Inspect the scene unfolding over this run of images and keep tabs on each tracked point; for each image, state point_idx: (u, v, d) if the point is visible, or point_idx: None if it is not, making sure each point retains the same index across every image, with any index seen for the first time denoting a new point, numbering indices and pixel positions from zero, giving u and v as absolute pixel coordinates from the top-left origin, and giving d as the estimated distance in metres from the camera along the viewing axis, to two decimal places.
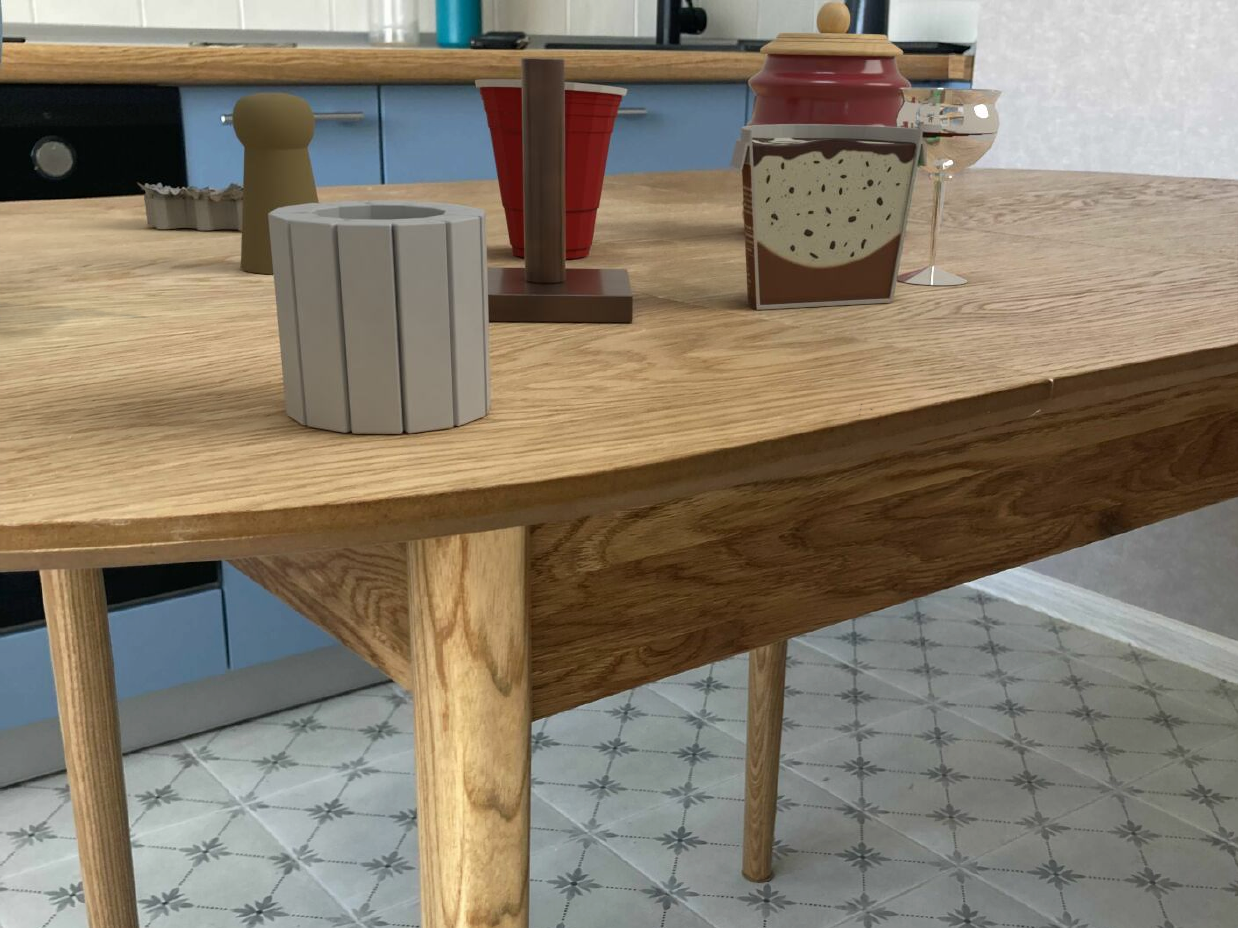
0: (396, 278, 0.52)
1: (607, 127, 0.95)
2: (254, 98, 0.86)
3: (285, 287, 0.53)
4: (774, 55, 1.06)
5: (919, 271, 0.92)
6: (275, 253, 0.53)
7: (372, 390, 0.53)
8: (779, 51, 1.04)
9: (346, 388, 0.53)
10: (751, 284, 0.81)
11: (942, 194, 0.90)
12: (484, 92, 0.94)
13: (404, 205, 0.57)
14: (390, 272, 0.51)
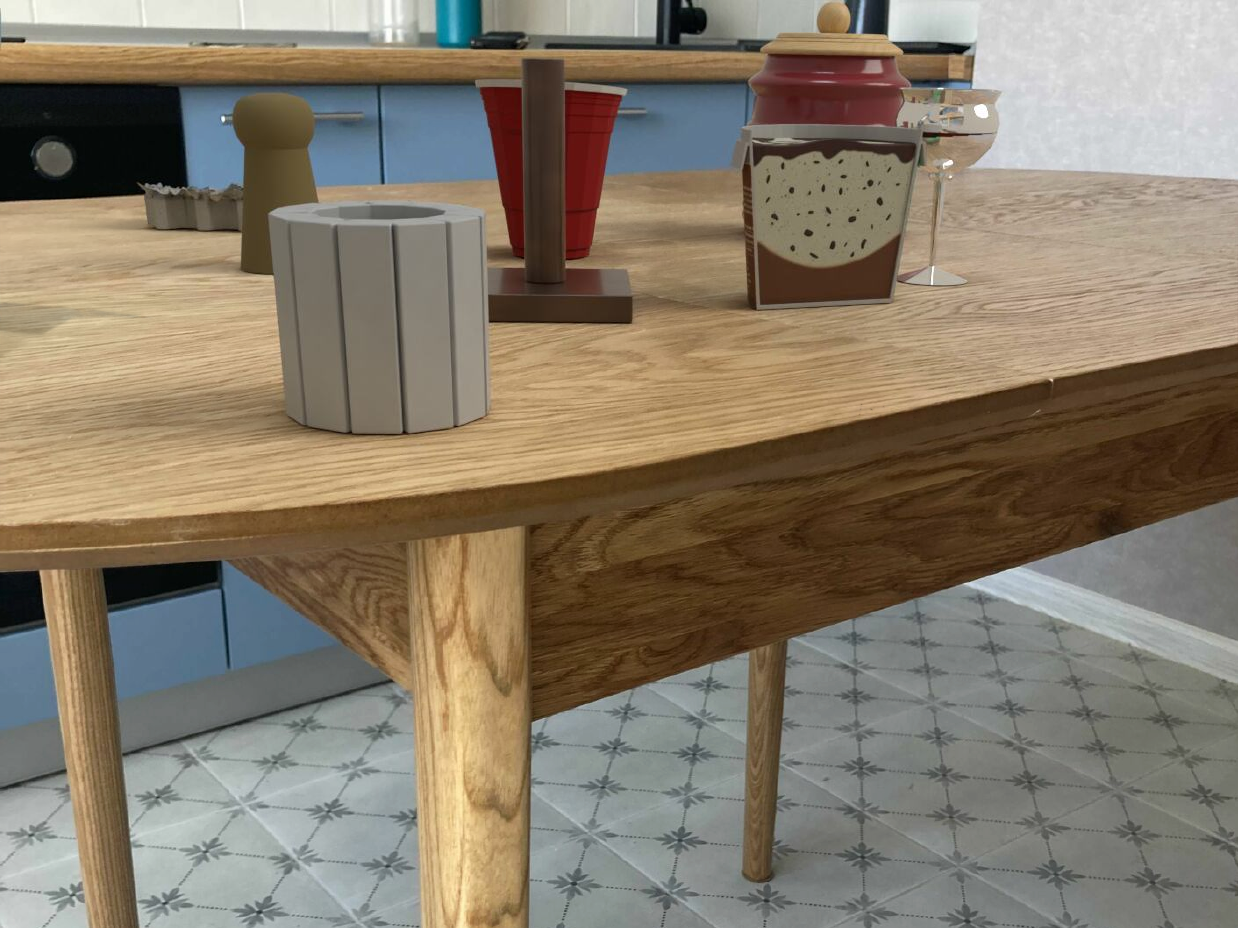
0: (396, 278, 0.52)
1: (607, 127, 0.95)
2: (254, 98, 0.86)
3: (285, 287, 0.53)
4: (774, 55, 1.06)
5: (919, 271, 0.92)
6: (275, 253, 0.53)
7: (372, 390, 0.53)
8: (779, 51, 1.04)
9: (346, 388, 0.53)
10: (751, 284, 0.81)
11: (942, 194, 0.90)
12: (484, 92, 0.94)
13: (404, 205, 0.57)
14: (390, 272, 0.51)
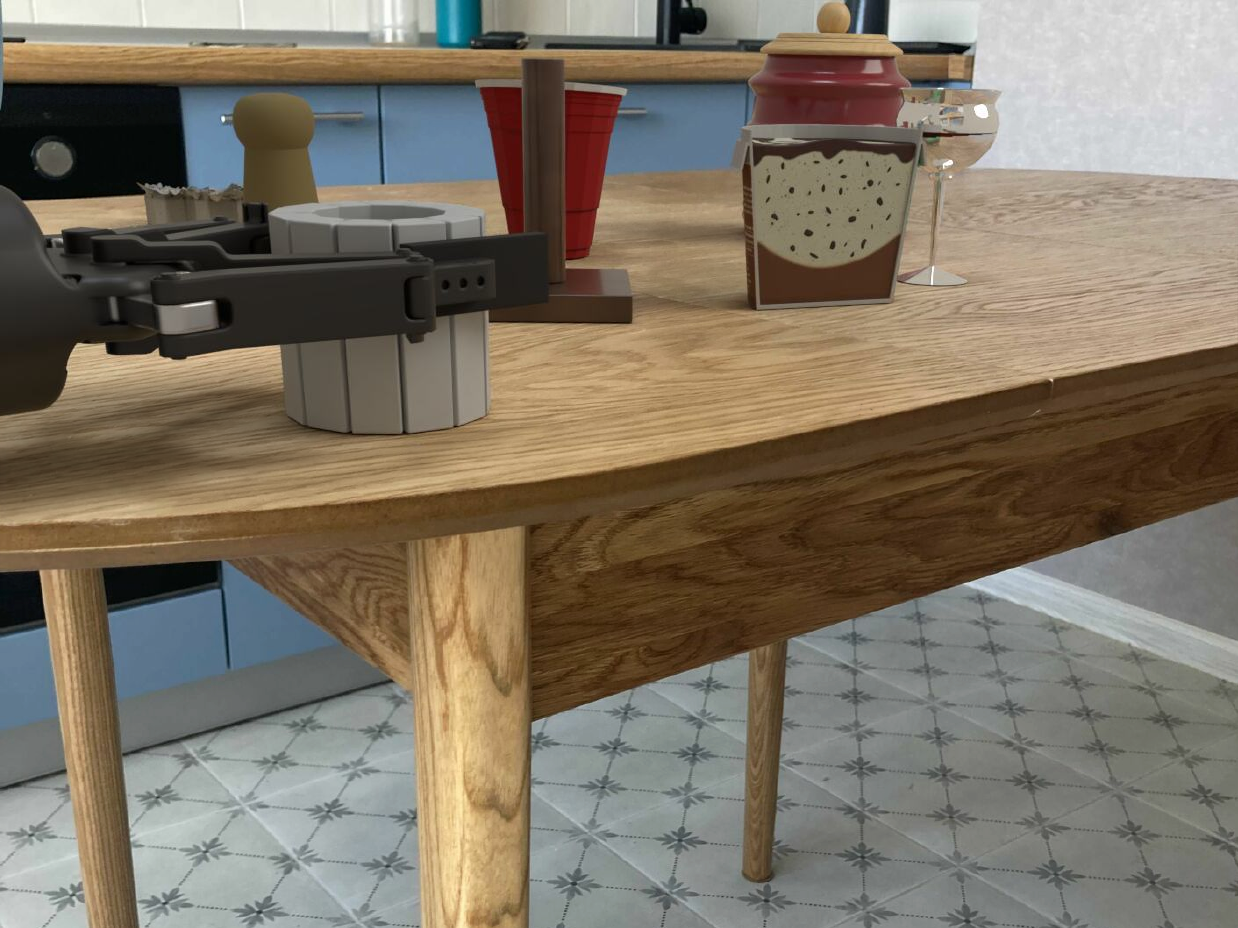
0: None
1: (607, 127, 0.95)
2: (254, 98, 0.86)
3: None
4: (774, 55, 1.06)
5: (919, 271, 0.92)
6: (275, 253, 0.53)
7: (372, 390, 0.53)
8: (779, 51, 1.04)
9: (346, 388, 0.53)
10: (751, 284, 0.81)
11: (942, 194, 0.90)
12: (484, 92, 0.94)
13: (404, 205, 0.57)
14: None
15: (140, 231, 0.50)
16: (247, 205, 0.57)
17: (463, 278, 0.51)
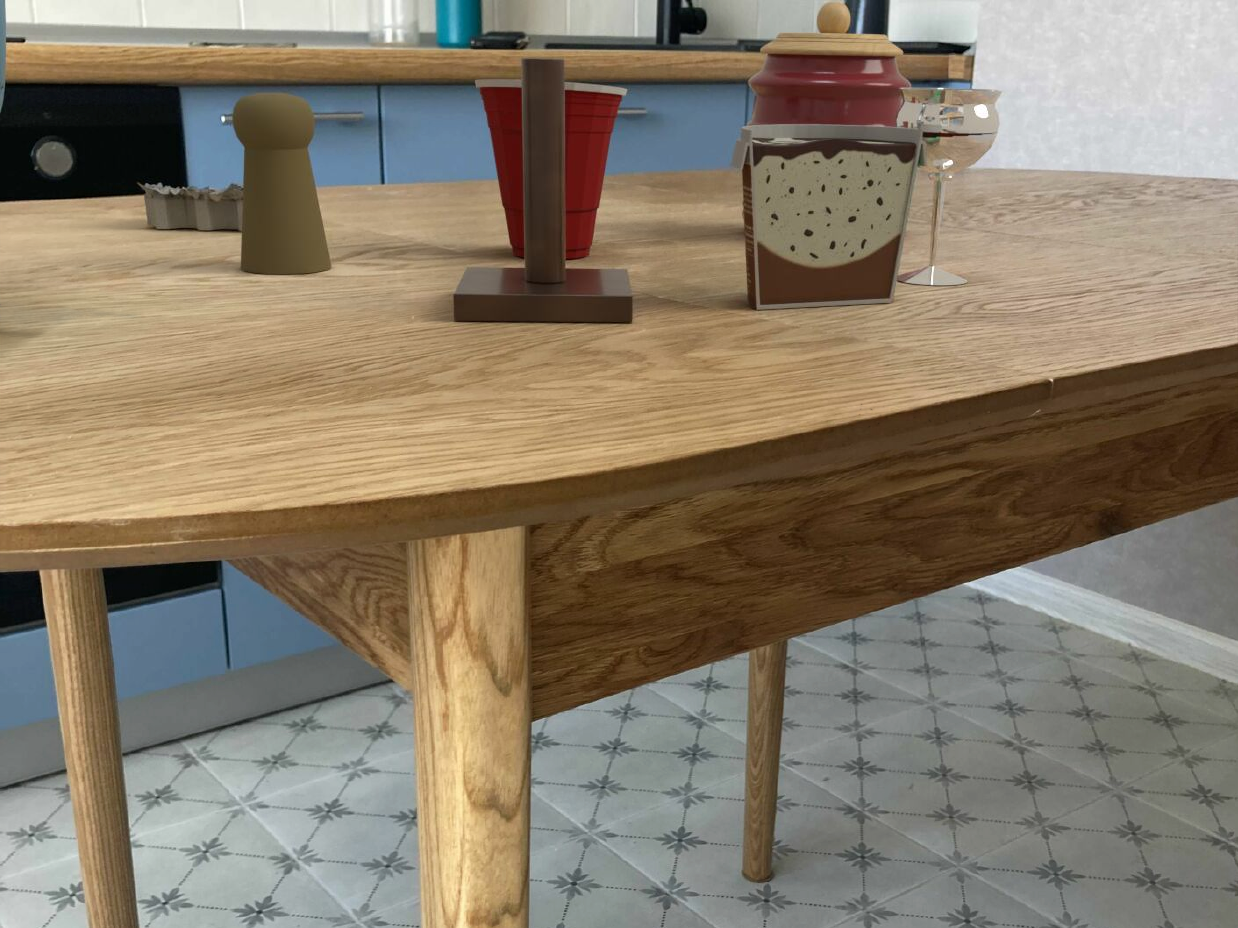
0: None
1: (607, 127, 0.95)
2: (254, 98, 0.86)
3: None
4: (774, 55, 1.06)
5: (919, 271, 0.92)
6: None
7: None
8: (779, 51, 1.04)
9: None
10: (751, 284, 0.81)
11: (942, 194, 0.90)
12: (484, 92, 0.94)
13: None
14: None
15: None
16: None
17: None
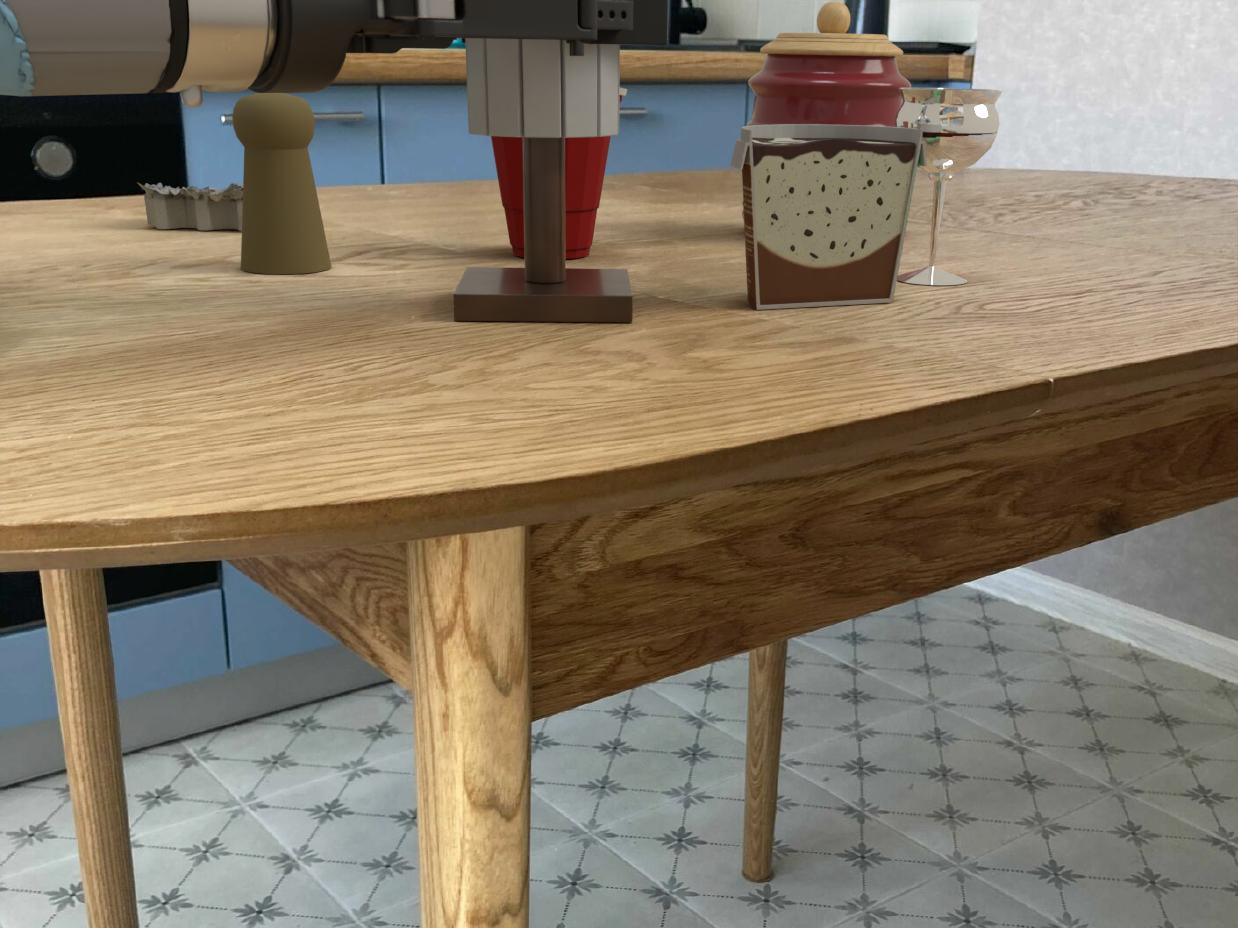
0: None
1: None
2: (254, 98, 0.86)
3: None
4: (774, 55, 1.06)
5: (919, 271, 0.92)
6: None
7: (540, 102, 0.72)
8: (779, 51, 1.04)
9: (521, 101, 0.72)
10: (751, 284, 0.81)
11: (942, 194, 0.90)
12: None
13: None
14: None
15: None
16: None
17: (612, 11, 0.70)
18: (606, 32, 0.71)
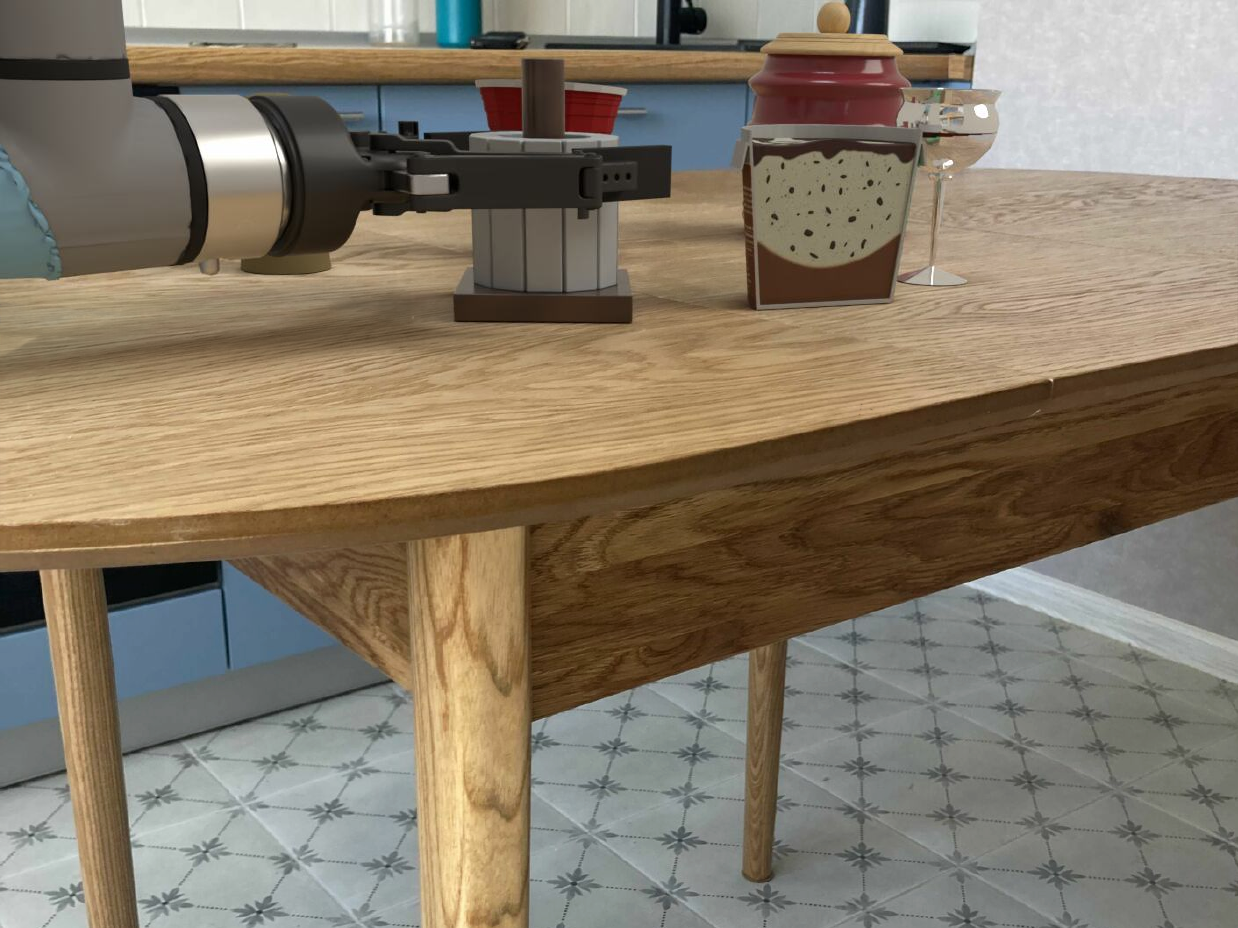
0: None
1: (607, 127, 0.95)
2: None
3: None
4: (774, 55, 1.06)
5: (919, 271, 0.92)
6: None
7: (542, 260, 0.75)
8: (779, 51, 1.04)
9: (524, 259, 0.75)
10: (751, 284, 0.81)
11: (942, 194, 0.90)
12: (484, 92, 0.94)
13: None
14: None
15: None
16: (401, 122, 0.79)
17: (616, 174, 0.71)
18: None
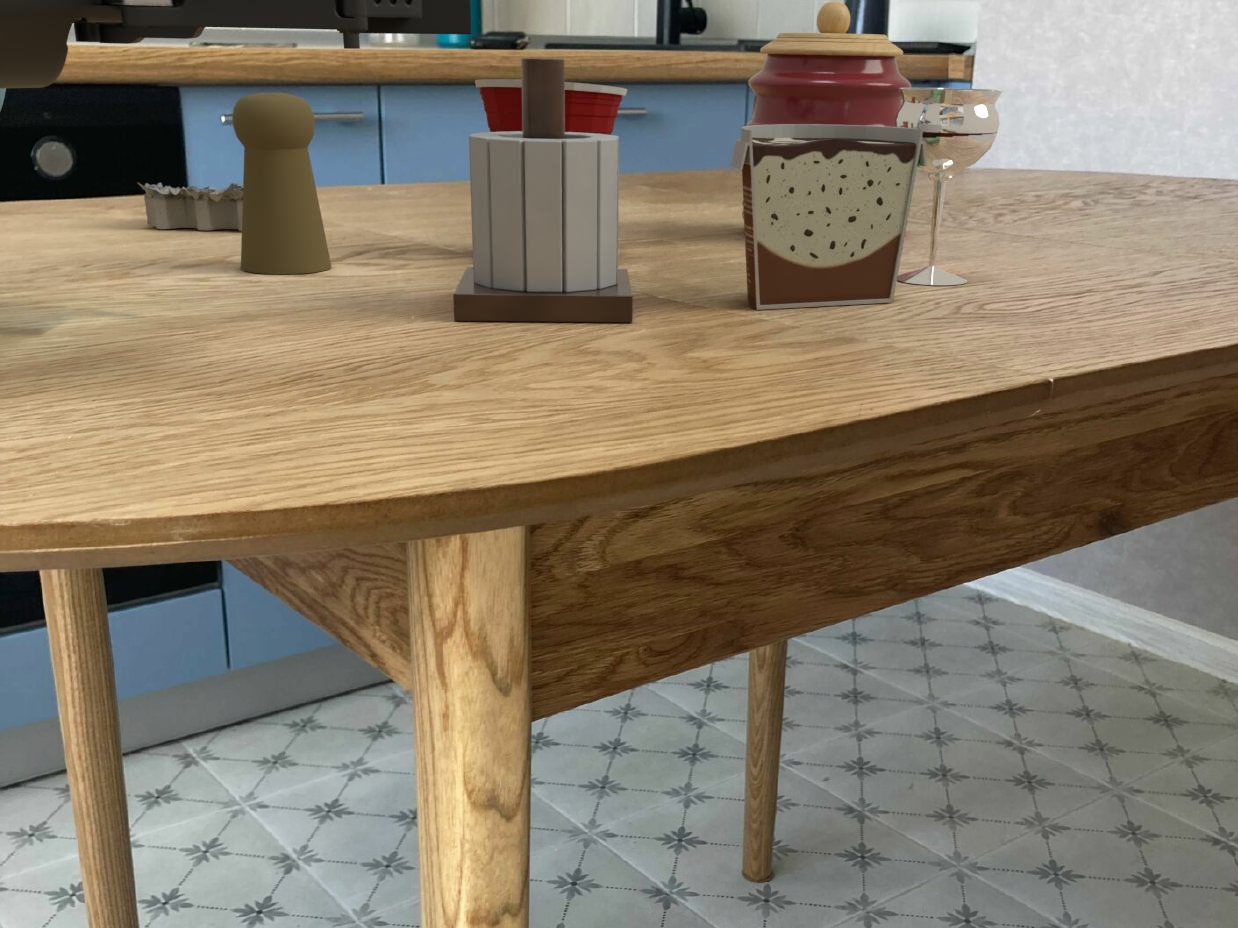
0: (562, 179, 0.74)
1: (607, 127, 0.95)
2: (254, 98, 0.86)
3: (482, 187, 0.75)
4: (774, 55, 1.06)
5: (919, 271, 0.92)
6: (474, 164, 0.75)
7: (542, 260, 0.75)
8: (779, 51, 1.04)
9: (524, 259, 0.75)
10: (751, 284, 0.81)
11: (942, 194, 0.90)
12: (484, 92, 0.94)
13: None
14: (559, 175, 0.73)
15: None
16: None
17: None
18: (391, 20, 0.61)
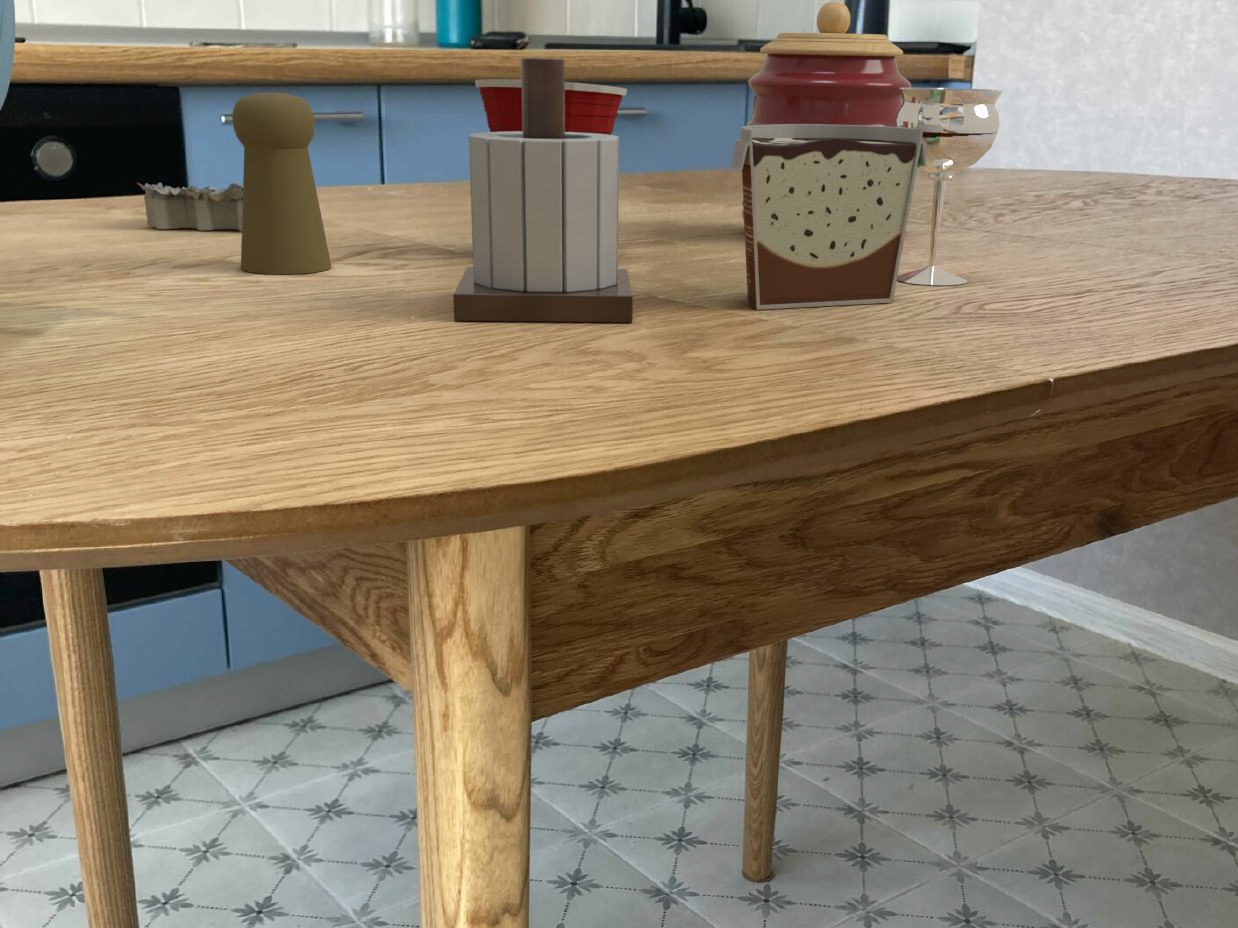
0: (562, 179, 0.74)
1: (607, 127, 0.95)
2: (254, 98, 0.86)
3: (482, 187, 0.75)
4: (774, 55, 1.06)
5: (919, 271, 0.92)
6: (474, 164, 0.75)
7: (542, 260, 0.75)
8: (779, 51, 1.04)
9: (524, 259, 0.75)
10: (751, 284, 0.81)
11: (942, 194, 0.90)
12: (484, 92, 0.94)
13: None
14: (559, 175, 0.73)
15: None
16: None
17: None
18: None
